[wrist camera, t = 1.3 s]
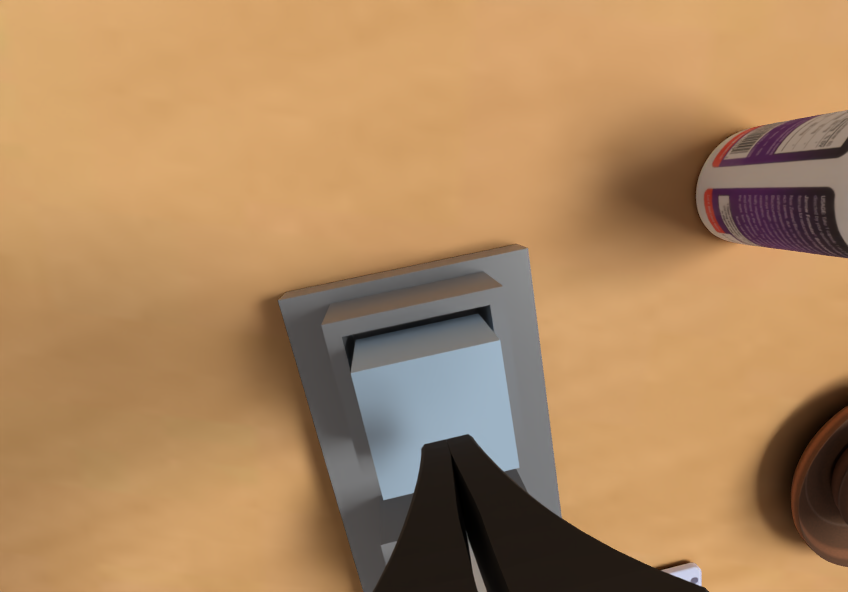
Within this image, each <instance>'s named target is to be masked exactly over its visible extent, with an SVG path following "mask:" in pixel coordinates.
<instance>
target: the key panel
mask: <svg viewBox="0 0 848 592" xmlns="http://www.w3.org/2000/svg"><path fill="white" fill-rule="evenodd" d="M278 302H279V306H280V309H281V313H282V316H283V320H284V323H285V326H286V330H287V333H288V337H289V340H290V343H291V347H292V350H293V354H294V357H295V360H296V364H297V367H298V371H299V374H300V377H301V381H302V384H303V388H304V391H305V394H306V398H307V401H308V405H309V408H310V411H311V415H312V418H313V422H314V425H315V428H316V432H317V435H318V439H319V442H320V446H321V449H322V452H323V456H324V459H325V463H326V466H327V469H328V473H329V476H330V480H331V483H332V486H333V490H334V493H335V497H336V500H337V503H338V507H339V510H340V514H341V517H342V520H343V524H344V527H345V531H346V534H347V537H348V541H349V544H350V548H351V551H352V555H353V558H354V561H355V565H356V568H357V572H358V575H359V578H360V582H361V585H362V589H363V592H373V590H374V588H375V587H376V585H377V583H378V581H379V579H380V577H381V575H382V573H383V571H384V569H385V567H386V565H387V563H388V561H389V559H390V556H391V554H392V552H393V550H394V548H395V545H396V543H397V540H398V538H399V535H400V533H401V530H402V528H403V525H404V522H405V519H406V516H407V513H408V510H409V507H410V504H411V501H412V497H413V494H414V493H412V494H408V495H403V496H399V497H395V498H391V499H387V500H383V497H382V493H381V489H380V485H379V481H378V477H377V474H376V470H375V466H374V462H373V458H372V454H371V450H370V446H369V443H368V439H367V435H366V431H365V427H364V423H363V419H362V415H361V412H360V408H359V404H358V400H357V396H356V392H355V388H354V384H353V381H352V377H351V367H352V361H353V354H354V347H355V341H356V340H358V339H362V338H367V337H371V336H376V335H381V334H385V333H390V332H395V331H399V330H404V329H408V328H413V327H418V326H422V325H427V324H431V323H436V322H441V321H445V320H450V319H455V318H459V317H464V316H468V315H473V314H479V315H480V316H481V317H482V319H483V320H484V321H485V322H486V323H487V325H488V326H489V327H490V328H491V330H492V331H493V332H494V333H495V334H496V336H497V337H498V338H499V339H500V342H501V349H502V355H503V362H504V369H505V375H506V382H507V388H508V395H509V402H510V408H511V415H512V421H513V428H514V435H515V441H516V448H517V454H518V461H519V468H516V469H512V470H508V471H504V472H505V473H506V474H507V475H508V476H509V477H510V478H511V479H512V480H513V481H514V482H516V483H517V484H518V485H519V486H520V487H521V488H522V489H524V490H525V491H526V492H527V493H529V494H530V495H531V496H532V497H533V498H535V499H536V500H537V501H539V502H540V503H541V504H542V505H544V506H545V507H546V508H548V509H549V510H551V511H552V512H553V513H555V514H556V515H558V516H559V517H561V518H562V516H561V508H560V500H559V492H558V484H557V476H556V469H555V461H554V453H553V445H552V437H551V429H550V421H549V413H548V405H547V397H546V389H545V381H544V373H543V365H542V357H541V349H540V341H539V333H538V325H537V317H536V309H535V301H534V293H533V285H532V277H531V269H530V261H529V253H528V248H526V247H523V246H521V245H518V244H515V245H510V246H505V247H500V248H496V249H491V250H486V251H481V252H476V253H472V254H467V255H462V256H457V257H452V258H448V259H443V260H438V261H433V262H428V263H424V264H419V265H414V266H409V267H404V268H400V269H395V270H390V271H385V272H380V273H376V274H371V275H366V276H361V277H356V278H352V279H347V280H342V281H337V282H332V283H328V284H323V285H318V286H313V287H308V288H303V289H299V290H294V291H289V292H285V293H284V294H283V296H282V297H281V298H280V299H279V300H278ZM466 533H467V532H466Z"/></svg>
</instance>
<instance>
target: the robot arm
mask: <svg viewBox="0 0 848 592" xmlns="http://www.w3.org/2000/svg"><path fill="white" fill-rule="evenodd" d="M446 440H447V441H446ZM466 532H467V533H466ZM467 536H468V538H467ZM468 539H469V542H470V545H471V548H472V551H473V554H474V557H475V559H476V562H477V565H478V568H479V571H480V574H481V576H482V579H483V582H484V585H485V588H486V590H487V592H709V591H708V590H707V589H706V588H704V587H702V583H701V569H700V568H699V567H698V566H697V565H696V564H695V563H687V564H683V565H679V566H675V567H671V568H668V569H664V570H659V569H656V568H653V567H651V566H649V565H647V564H644V563H642V562H640V561H638V560H636V559H634V558H632V557H629V556H627V555H625V554H623V553H621V552H619V551H617V550H615V549H613V548H611V547H609V546H608V545H606V544H604V543H602V542H600V541H599V540H597V539H595V538H593V537H591V536H590V535H588V534H586V533H584V532H582V531H581V530H579V529H578V528H576V527H574V526H573V525H571V524H570V523H568V522H567V521H565V520H564V519H562V518H561V517H559V516H558V515H556V514H555V513H553V512H552V511H551V510H549V509H548V508H546V507H545V506H544V505H542V504H541V503H540V502H539V501H537V500H536V499H535V498H533V497H532V496H531V495H530V494H529V493H527V492H526V491H525V490H524V489H522V488H521V487H520V486H519V485H518V484H517V483H516V482H514V481H513V480H512V479H511V478H510V477H509V476H508V475H507V474H506V473H505V472H504V471H503V470H502V469H501V468H500V467H498V465H497V464H496V463H495V462H494V461H493V460H492V459H491V458H490V457H489V456H488V455H487V454H486V453H485V452H484V451H483V449H482V448H481V447H480V446H479V445H478V444H477V442H476V441H475V440H474V438H473V437H472V436H470V435H469V434H466V435H462V436H457V437H453V438H449V439H444V440H440V441H436V442H432V443H427V444H424V445H423V447H422V448H421V461H420V468H419V473H418V478H417V482H416V486H415V490H414V494H413V497H412V501H411V504H410V507H409V510H408V513H407V516H406V519H405V522H404V525H403V528H402V530H401V533H400V535H399V538H398V540H397V543H396V545H395V548H394V550H393V552H392V554H391V556H390V559H389V561H388V563H387V565H386V567H385V569H384V571H383V573H382V575H381V577H380V579H379V581H378V583H377V585H376V587H375V588H374V590H373V592H478V590H477V587H476V583H475V579H474V575H473V570H472V564H471V557H470V551H469V544H468Z"/></svg>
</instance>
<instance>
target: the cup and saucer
mask: <svg viewBox="0 0 848 592" xmlns="http://www.w3.org/2000/svg"><path fill="white" fill-rule="evenodd" d="M791 505H792V515H793V519H794V523H795V526H796V528H797V530H798V532H799V534H800V536H801V537H802V538H803V540H804V541H805V542H806V544H807V545H808V546H809V547H810V548H811V549H812V550H813V551H814V552H815V553H816V554H817V555H819V556H820V557H821V558H823V559H825V560H827V561H828V562H831V563H834V564H836V565H840V566H845V567H848V406H846V407H845V408H843V409H842V410H841V411H839V412H838V413H837V414H835V415H834V416H833V417H832V418H831V419H830V420H829V421H827V422H826V423H825V424H824V425H823V427H822V428H821V429H820V430H819V431H818V432H817V433H816V434H815V436H814V437H813V438H812V440H811V441H810V442H809V444H808V445H807V447H806V449H805V450H804V452H803V454H802V456H801V458H800V460H799V462H798V465H797V467H796V470H795V473H794V476H793V481H792V488H791Z"/></svg>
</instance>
